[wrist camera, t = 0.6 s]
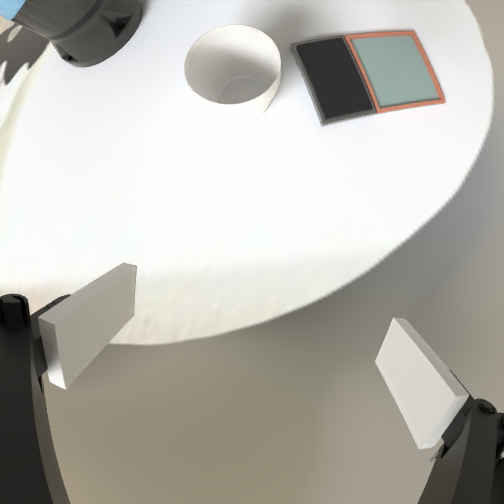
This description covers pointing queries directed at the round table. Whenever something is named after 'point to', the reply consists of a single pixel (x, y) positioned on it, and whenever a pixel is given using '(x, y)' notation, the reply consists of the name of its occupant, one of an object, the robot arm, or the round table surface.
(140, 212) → the round table surface
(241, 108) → the cup
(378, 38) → the print frame
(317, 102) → the ink pad
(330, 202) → the round table surface
